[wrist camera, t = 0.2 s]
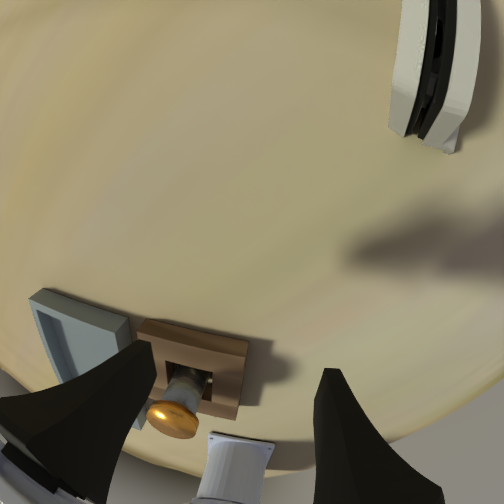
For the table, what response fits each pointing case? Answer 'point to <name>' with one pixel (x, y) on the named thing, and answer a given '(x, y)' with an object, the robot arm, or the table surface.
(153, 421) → the pin
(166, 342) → the holder
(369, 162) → the table surface
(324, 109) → the table surface
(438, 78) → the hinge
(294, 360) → the table surface
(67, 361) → the tray
